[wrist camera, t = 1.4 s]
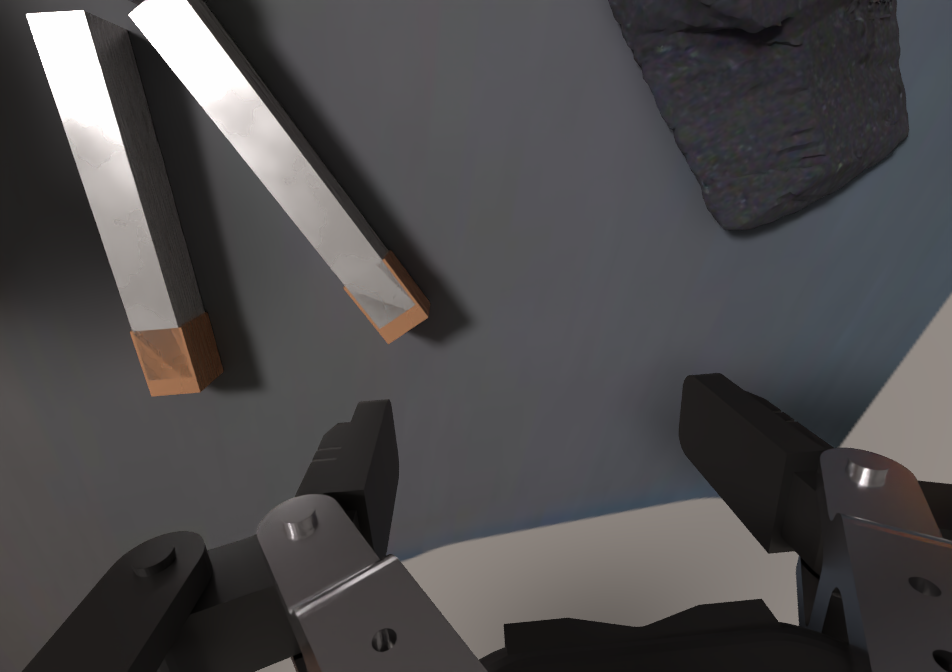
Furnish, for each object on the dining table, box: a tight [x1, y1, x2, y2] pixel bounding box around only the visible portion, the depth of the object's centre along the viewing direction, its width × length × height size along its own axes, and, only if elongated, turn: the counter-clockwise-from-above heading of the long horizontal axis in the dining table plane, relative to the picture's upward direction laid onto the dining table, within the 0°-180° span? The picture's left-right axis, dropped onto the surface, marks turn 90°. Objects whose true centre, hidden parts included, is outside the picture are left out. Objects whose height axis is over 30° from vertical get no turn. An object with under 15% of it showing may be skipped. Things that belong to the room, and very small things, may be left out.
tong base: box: [26, 0, 224, 396], centre depth 24 cm, size 22×6×4 cm, turn 4°
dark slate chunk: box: [608, 0, 909, 230], centre depth 23 cm, size 15×22×5 cm
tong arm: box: [129, 0, 430, 344], centre depth 25 cm, size 19×3×3 cm, turn 34°
